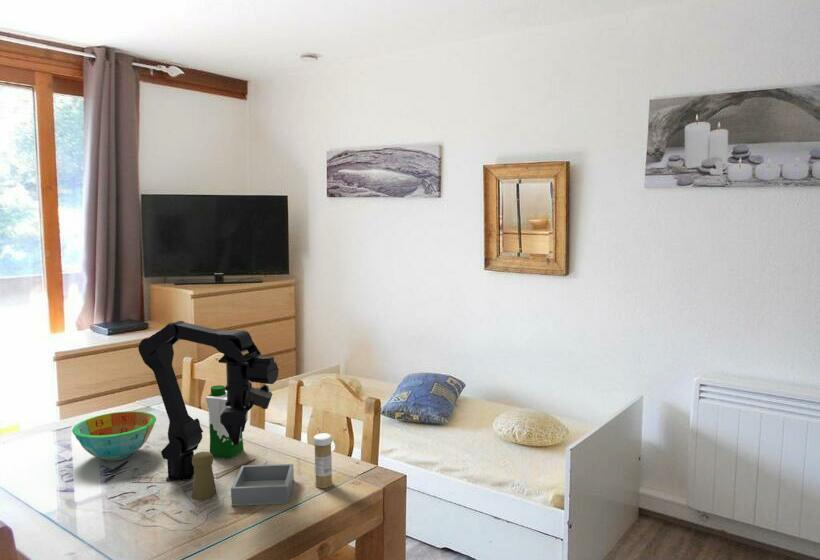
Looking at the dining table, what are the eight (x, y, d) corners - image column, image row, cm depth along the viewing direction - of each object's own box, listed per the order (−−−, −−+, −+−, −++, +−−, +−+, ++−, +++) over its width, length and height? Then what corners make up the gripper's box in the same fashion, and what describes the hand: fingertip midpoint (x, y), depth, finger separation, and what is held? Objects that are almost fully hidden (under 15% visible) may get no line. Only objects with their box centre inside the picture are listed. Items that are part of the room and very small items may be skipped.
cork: (209, 501, 158) (207, 458, 157) (187, 499, 159) (185, 457, 158) (221, 490, 164) (219, 449, 163) (199, 488, 165) (197, 448, 164)
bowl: (56, 464, 181) (53, 430, 180) (118, 437, 201) (116, 407, 200) (115, 476, 173) (112, 441, 171) (174, 447, 193) (172, 415, 192)
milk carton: (222, 446, 194) (220, 382, 191) (248, 449, 191) (245, 385, 189) (204, 457, 186) (201, 390, 183) (231, 460, 183) (228, 393, 180)
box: (231, 506, 155) (230, 488, 155) (242, 481, 169) (241, 465, 168) (287, 503, 156) (287, 486, 156) (293, 479, 170) (293, 463, 169)
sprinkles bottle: (329, 480, 170) (328, 431, 168) (334, 486, 166) (333, 437, 164) (312, 483, 168) (311, 434, 166) (318, 490, 164) (316, 440, 162)
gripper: (265, 390, 156) (266, 451, 158) (273, 369, 174) (274, 424, 176) (219, 391, 154) (220, 452, 156) (231, 370, 173) (233, 425, 175)
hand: (239, 438), depth 166 cm, fingers open, 9 cm apart
